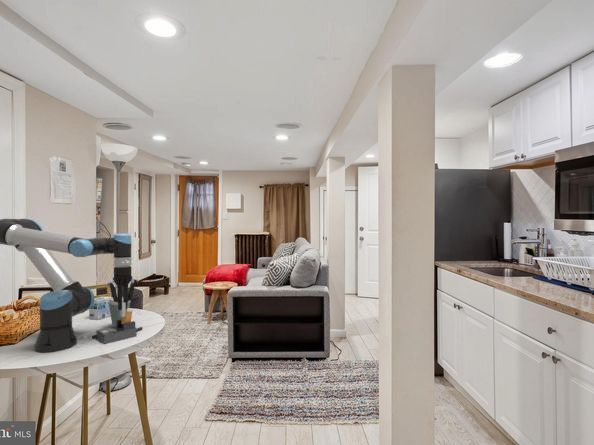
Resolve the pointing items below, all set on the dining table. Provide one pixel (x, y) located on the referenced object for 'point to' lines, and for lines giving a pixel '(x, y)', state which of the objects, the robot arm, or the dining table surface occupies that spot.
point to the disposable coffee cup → (115, 310)
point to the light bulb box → (100, 308)
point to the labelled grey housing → (117, 332)
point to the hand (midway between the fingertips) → (122, 316)
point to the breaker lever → (127, 316)
